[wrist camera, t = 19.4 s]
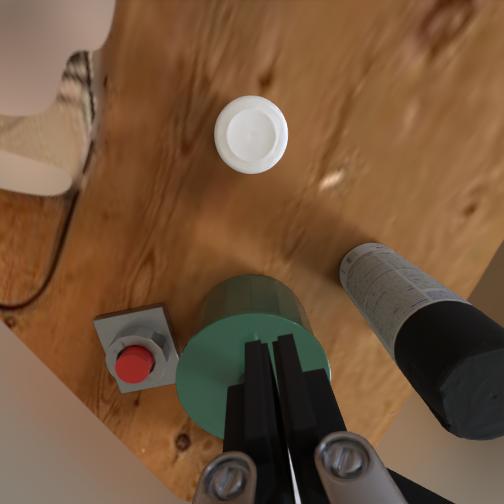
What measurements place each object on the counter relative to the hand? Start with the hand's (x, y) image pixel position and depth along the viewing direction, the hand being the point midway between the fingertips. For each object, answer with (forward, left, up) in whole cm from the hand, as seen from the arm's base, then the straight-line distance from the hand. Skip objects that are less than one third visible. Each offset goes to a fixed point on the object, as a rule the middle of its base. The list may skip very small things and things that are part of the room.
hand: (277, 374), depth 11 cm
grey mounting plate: (+12, -16, -25) cm, 32 cm away
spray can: (+8, +11, -25) cm, 29 cm away
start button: (+12, -16, -22) cm, 30 cm away
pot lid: (+12, -3, -16) cm, 20 cm away
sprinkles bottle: (-8, +1, -25) cm, 27 cm away
